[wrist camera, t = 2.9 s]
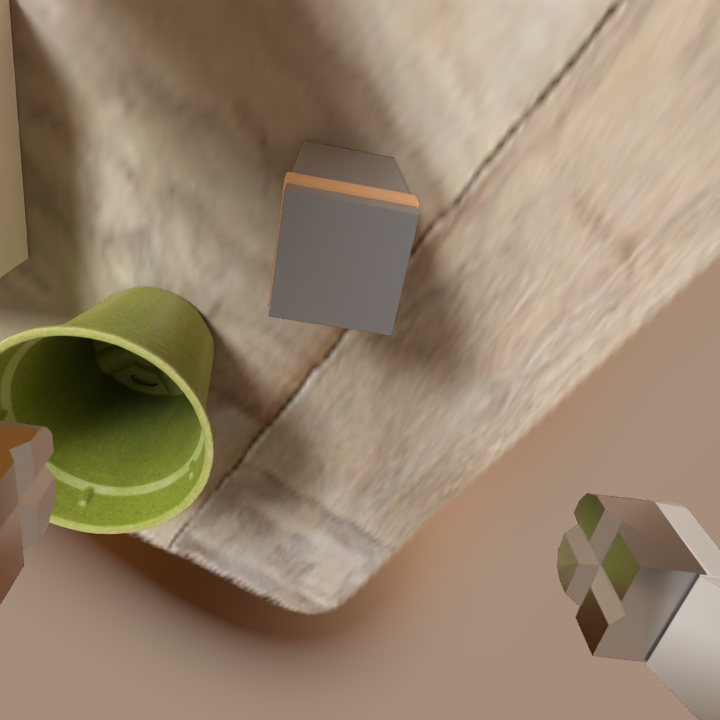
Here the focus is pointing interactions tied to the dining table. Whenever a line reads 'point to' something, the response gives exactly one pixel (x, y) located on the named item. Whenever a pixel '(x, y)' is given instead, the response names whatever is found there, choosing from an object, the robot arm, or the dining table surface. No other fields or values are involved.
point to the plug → (342, 240)
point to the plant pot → (117, 408)
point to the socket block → (10, 157)
